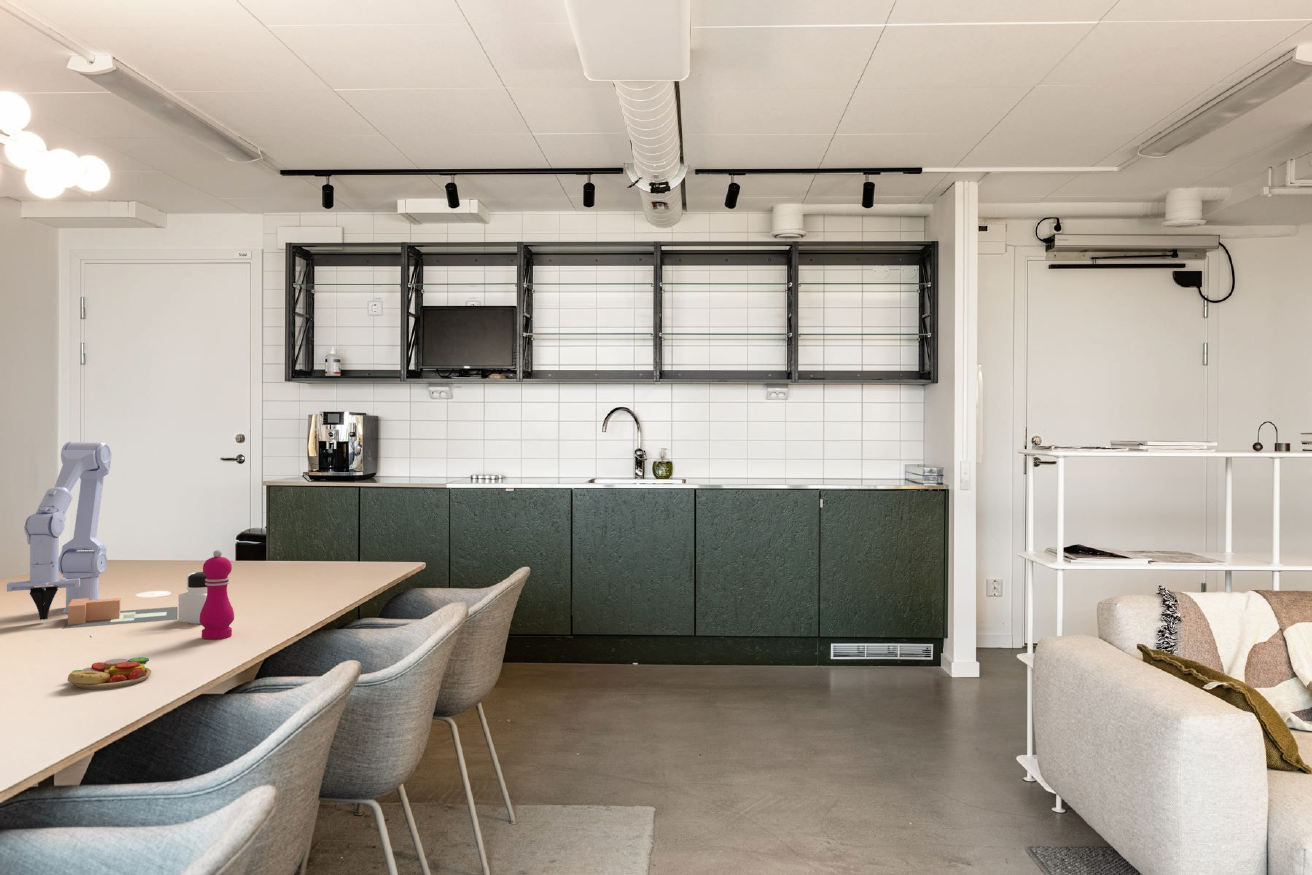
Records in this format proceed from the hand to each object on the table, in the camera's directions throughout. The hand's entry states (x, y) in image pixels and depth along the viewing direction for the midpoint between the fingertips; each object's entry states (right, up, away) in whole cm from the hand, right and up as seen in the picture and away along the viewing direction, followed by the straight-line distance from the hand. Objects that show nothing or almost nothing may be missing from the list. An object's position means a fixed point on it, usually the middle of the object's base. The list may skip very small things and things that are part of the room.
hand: (43, 618), depth 216 cm
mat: (+15, -2, +8) cm, 17 cm away
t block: (+9, -1, +5) cm, 11 cm away
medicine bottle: (+35, -2, +6) cm, 35 cm away
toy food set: (+45, -3, -47) cm, 65 cm away
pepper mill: (+47, -2, -11) cm, 49 cm away
